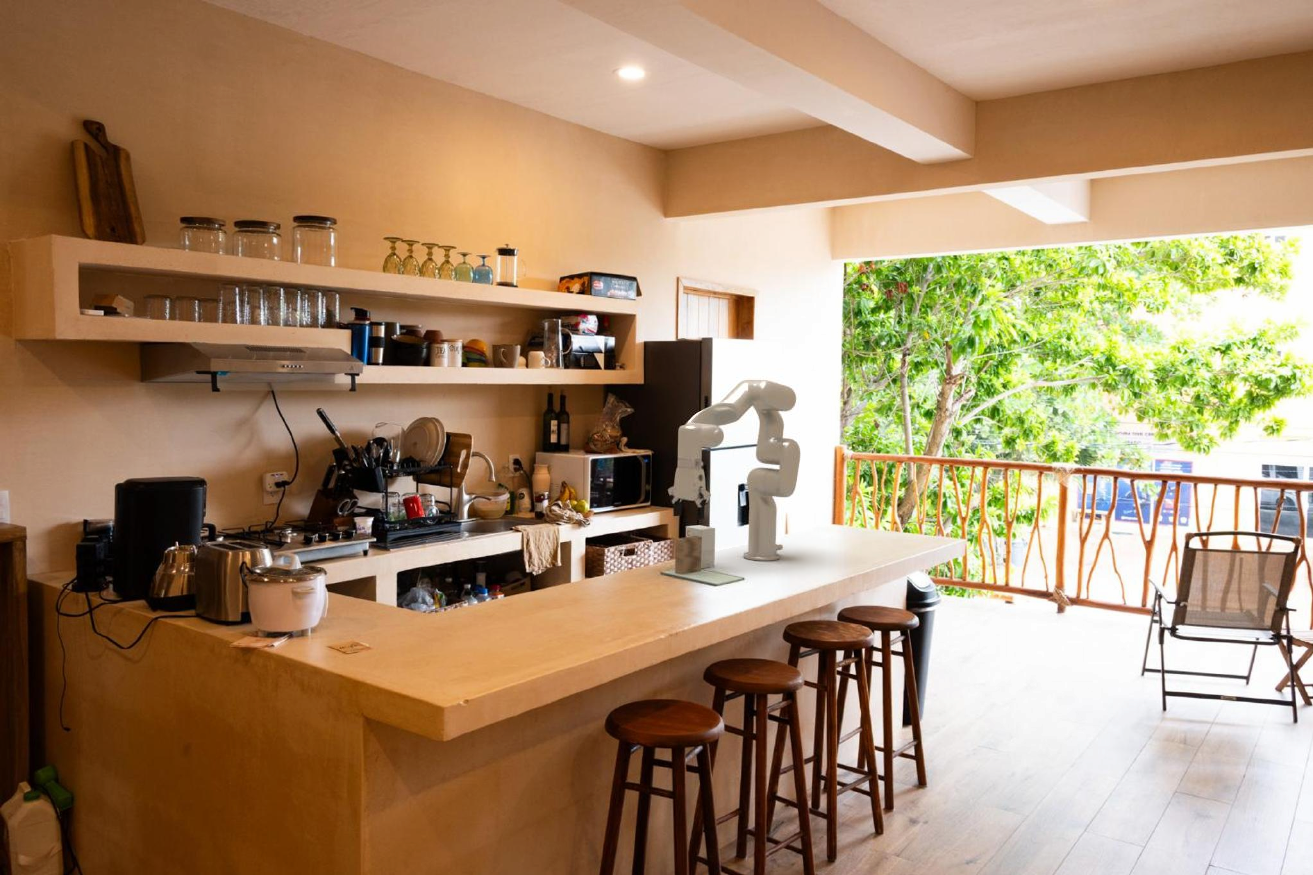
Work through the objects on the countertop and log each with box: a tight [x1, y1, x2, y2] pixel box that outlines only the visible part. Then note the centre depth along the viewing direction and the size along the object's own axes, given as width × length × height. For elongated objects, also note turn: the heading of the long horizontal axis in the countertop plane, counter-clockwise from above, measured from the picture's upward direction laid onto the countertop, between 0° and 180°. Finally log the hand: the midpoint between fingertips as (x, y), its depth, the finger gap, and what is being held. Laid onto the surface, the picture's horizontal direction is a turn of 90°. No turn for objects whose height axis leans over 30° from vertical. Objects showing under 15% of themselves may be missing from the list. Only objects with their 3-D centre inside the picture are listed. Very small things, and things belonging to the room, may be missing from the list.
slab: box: [674, 536, 702, 575], centre depth 308 cm, size 9×3×11 cm, turn 136°
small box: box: [685, 524, 716, 569], centre depth 321 cm, size 8×6×13 cm
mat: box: [659, 568, 745, 587], centre depth 304 cm, size 14×23×1 cm, turn 46°
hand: (688, 517), depth 307 cm, fingers open, 9 cm apart
